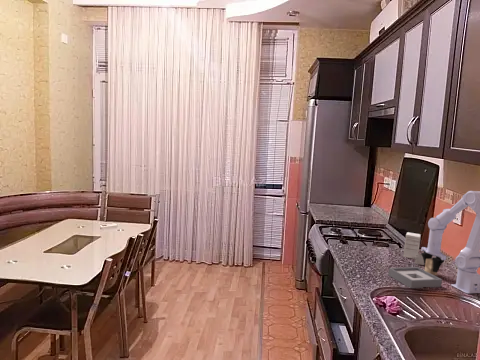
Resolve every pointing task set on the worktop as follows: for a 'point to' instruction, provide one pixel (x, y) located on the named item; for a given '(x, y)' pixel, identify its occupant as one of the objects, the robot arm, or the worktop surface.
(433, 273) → the peg
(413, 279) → the hole box
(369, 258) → the worktop surface
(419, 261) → the translucent grey slab
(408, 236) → the supplement box
